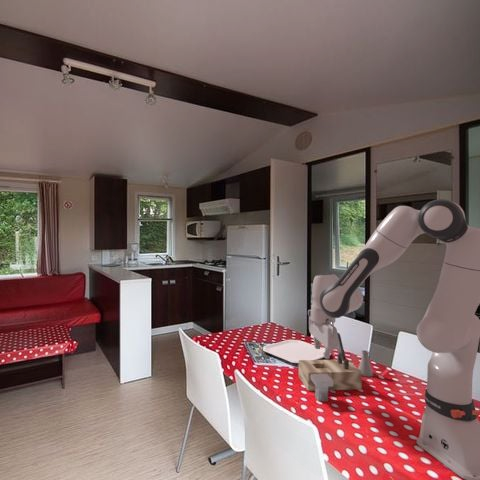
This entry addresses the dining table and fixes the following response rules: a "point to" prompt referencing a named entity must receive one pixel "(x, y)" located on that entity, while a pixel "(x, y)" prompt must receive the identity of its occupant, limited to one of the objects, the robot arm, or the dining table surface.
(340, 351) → the latch bar
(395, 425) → the dining table surface
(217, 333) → the dining table surface
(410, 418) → the dining table surface
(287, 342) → the plate
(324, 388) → the steel pin
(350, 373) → the socket block
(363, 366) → the flask
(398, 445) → the dining table surface
